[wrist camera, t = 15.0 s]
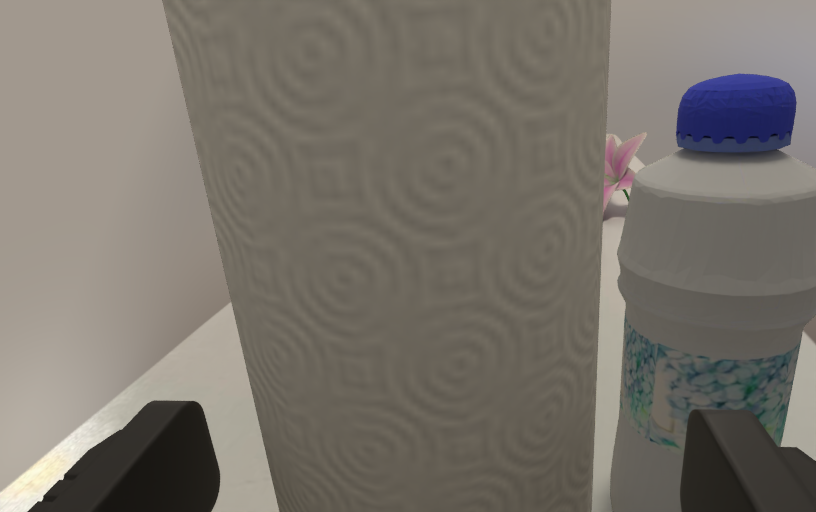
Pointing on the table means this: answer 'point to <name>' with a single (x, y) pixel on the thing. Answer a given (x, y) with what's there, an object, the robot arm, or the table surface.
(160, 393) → the table surface
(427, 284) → the paper towel roll
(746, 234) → the bottle
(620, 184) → the lily
